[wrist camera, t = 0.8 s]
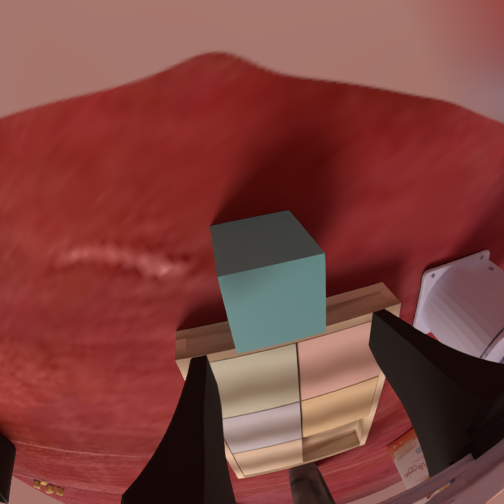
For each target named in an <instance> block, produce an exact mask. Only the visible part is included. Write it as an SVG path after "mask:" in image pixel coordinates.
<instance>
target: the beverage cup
mask: <svg viewBox="0 0 504 504" xmlns="http://www.w3.org/2000/svg"><path fill="white" fill-rule="evenodd" d="M288 473H289V479H290V480H289V481H290V486H291V492H292V497H293V502H294V504H335V502H334V500H333V498H332V496H331V493H330V491H329V489H328V487H327V485H326V483H325V481H324V479H323V477H322V475H321V472H320V471H319V469H318V468H317V465H316V464H315V463H307V464H303V465H299V466H296V467H294V468H292V469H291V470H289V472H288Z"/></svg>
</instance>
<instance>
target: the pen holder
mask: <svg viewBox="0 0 504 504" xmlns="http://www.w3.org/2000/svg"><path fill="white" fill-rule="evenodd" d="M15 455H16V451H15V448H14V447H13V445H12V444H11V443H10V442H9V441H8V440H7V439H5V438H4V437H3V436H1V435H0V502H2V503H5V504H8V502H9V493H10V486H11V479H12V473H13V467H14V461H15Z"/></svg>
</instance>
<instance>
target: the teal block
mask: <svg viewBox="0 0 504 504" xmlns="http://www.w3.org/2000/svg"><path fill="white" fill-rule="evenodd" d="M210 230H211V236H212V243H213V250H214V257H215V263H216V270H217V276H218V281H219V285H220V289H221V293H222V297H223V301H224V305H225V309H226V313H227V317H228V321H229V325H230V329H231V333H232V337H233V340H234V344H235V348H236V352H237V354H239V353H244V352H248V351H253V350H257V349H261V348H266V347H270V346H274V345H278V344H282V343H286V342H290V341H294V340H298V339H302V338H305V337H309V336H313V335H316V334H320V333H323V332H326V274H325V253H324V252H323V250H322V249H321V248H320V247H319V245H318V244H317V243H316V242H315V241H314V239H313V238H312V237H311V236H310V234H309V233H308V232H307V231H306V230H305V228H304V227H303V226H302V225H301V224H300V222H299V221H298V220H297V219H296V218H295V217H294V215H293V214H292V213H291V212H290V211H289V210H287V211H282V212H277V213H272V214H267V215H262V216H257V217H252V218H247V219H242V220H237V221H232V222H227V223H222V224H218V225H213V226H210Z"/></svg>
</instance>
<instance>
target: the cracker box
mask: <svg viewBox="0 0 504 504" xmlns="http://www.w3.org/2000/svg"><path fill="white" fill-rule="evenodd" d="M387 448H388V450H389V452H390V454H391V457H392V459H393V461H394V463H395V465H396V467H397V469H398V471H399V473H400V475H401V478H402V480H403V482H404V484H405V486H406V488H407V490H408V489H410V488H412V487H414V486H416V485H418V484H420V483H422V482H423V481H425V480H427V479H429V478H430V476H429V473H428V469H427V465H426V462H425V459H424V455H423V452H422V449H421V446H420V443H419V441H418V438H417V435H416V433H415V430H414V428H412V429H411V430H409V431H408V432H407V433H405V434H404V435H402V436H401V437H400V438H398V439H397V440H395V441H394V442H392V443H391V444H389V445H388V446H387ZM450 483H451V482H450ZM450 483H449V484H450ZM449 484H447V485H446V486H444V487H442V488H441V489H439V490H437V491H435V492H434V493H432V494H430V495H428V496H427V497H425V498H423V499H421V500H419V501H417V502H415V503H413V504H424V503H426V502H427V501H428V500H430V499H431V498H432V497H433V496H434V495H435V494H437V493H439V492H440V491H442V490H443V489H445V488H446V487H448V486H449ZM503 491H504V489H503V490H501V491H500V492H499V493H498V494H500V493H501V492H503ZM498 494H497V495H498ZM497 495H496V496H497ZM496 496H494V497H496ZM494 497H493V498H494ZM493 498H492V499H493ZM492 499H491V500H492ZM488 502H489V501H488ZM488 502H487V503H488Z"/></svg>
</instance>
